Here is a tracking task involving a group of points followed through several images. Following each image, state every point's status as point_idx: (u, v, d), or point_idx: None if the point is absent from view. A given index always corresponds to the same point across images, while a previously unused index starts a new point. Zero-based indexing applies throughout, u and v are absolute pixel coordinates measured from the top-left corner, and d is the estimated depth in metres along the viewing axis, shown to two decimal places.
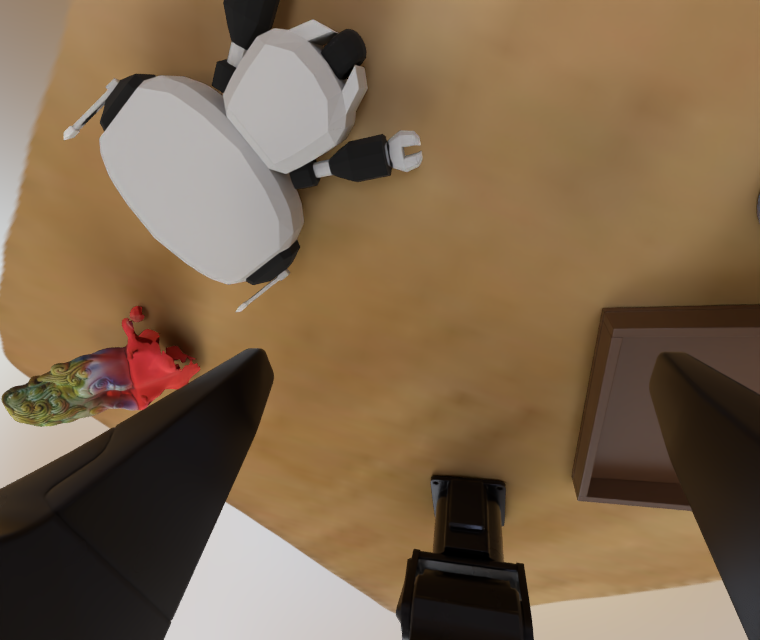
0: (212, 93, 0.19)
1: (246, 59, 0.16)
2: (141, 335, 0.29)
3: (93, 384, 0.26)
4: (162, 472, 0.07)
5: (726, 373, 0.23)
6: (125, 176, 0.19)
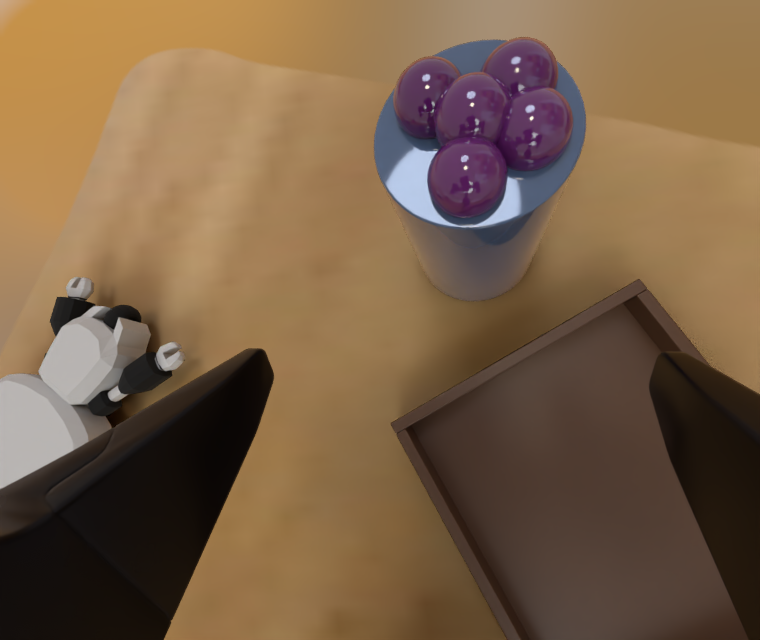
0: None
1: None
2: None
3: None
4: (162, 472, 0.07)
5: (561, 431, 0.20)
6: None
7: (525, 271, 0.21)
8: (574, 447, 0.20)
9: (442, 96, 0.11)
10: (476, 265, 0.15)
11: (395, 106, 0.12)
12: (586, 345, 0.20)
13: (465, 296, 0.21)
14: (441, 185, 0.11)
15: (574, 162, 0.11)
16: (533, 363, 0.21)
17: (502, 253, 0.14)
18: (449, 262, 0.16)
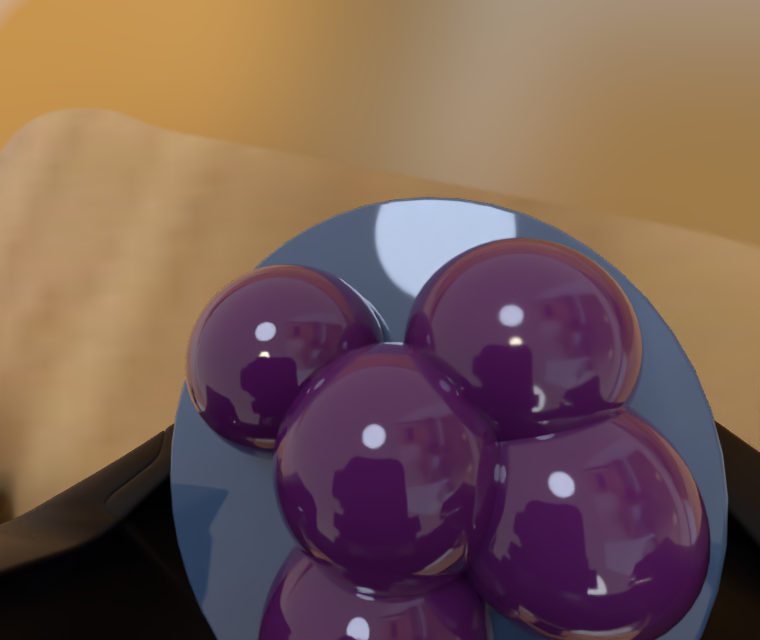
0: None
1: None
2: None
3: None
4: None
5: None
6: None
7: None
8: None
9: (281, 434, 0.04)
10: None
11: None
12: None
13: None
14: None
15: (704, 624, 0.04)
16: None
17: None
18: None
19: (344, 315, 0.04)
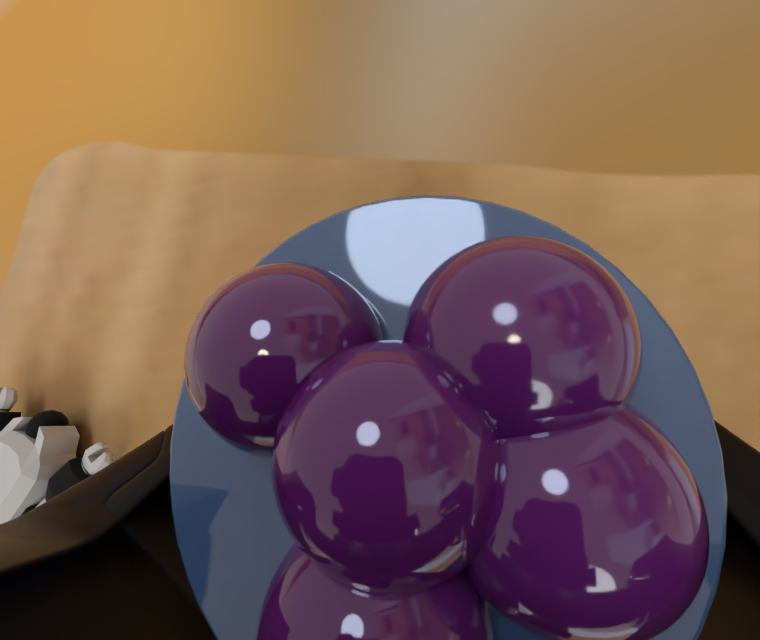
0: None
1: None
2: None
3: None
4: None
5: None
6: None
7: None
8: None
9: (280, 431, 0.04)
10: None
11: None
12: None
13: None
14: None
15: (703, 621, 0.04)
16: None
17: None
18: None
19: (343, 313, 0.04)
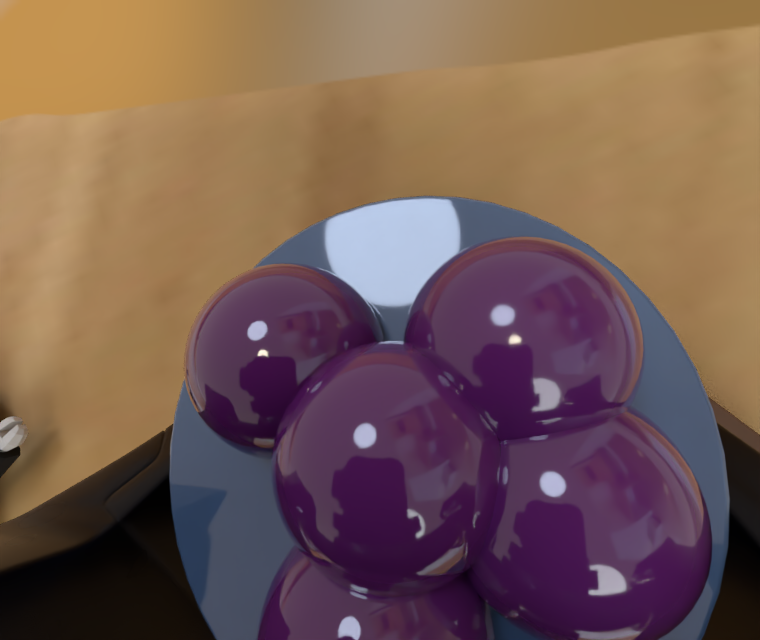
0: None
1: None
2: None
3: None
4: None
5: None
6: None
7: None
8: None
9: (280, 434, 0.03)
10: None
11: None
12: None
13: None
14: None
15: (706, 624, 0.04)
16: None
17: None
18: None
19: (343, 314, 0.04)
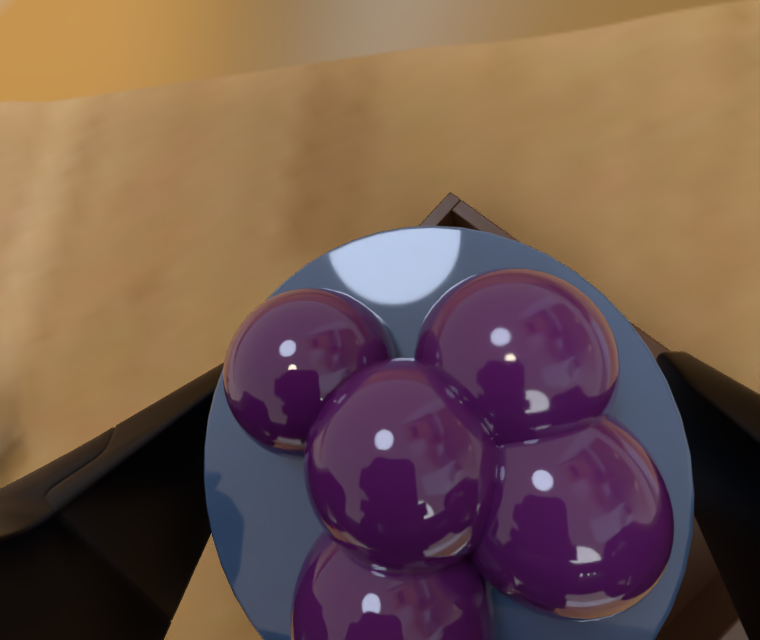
0: None
1: None
2: None
3: None
4: (162, 472, 0.07)
5: None
6: None
7: None
8: None
9: (313, 438, 0.04)
10: None
11: None
12: None
13: None
14: None
15: (673, 600, 0.04)
16: None
17: None
18: None
19: (363, 334, 0.05)
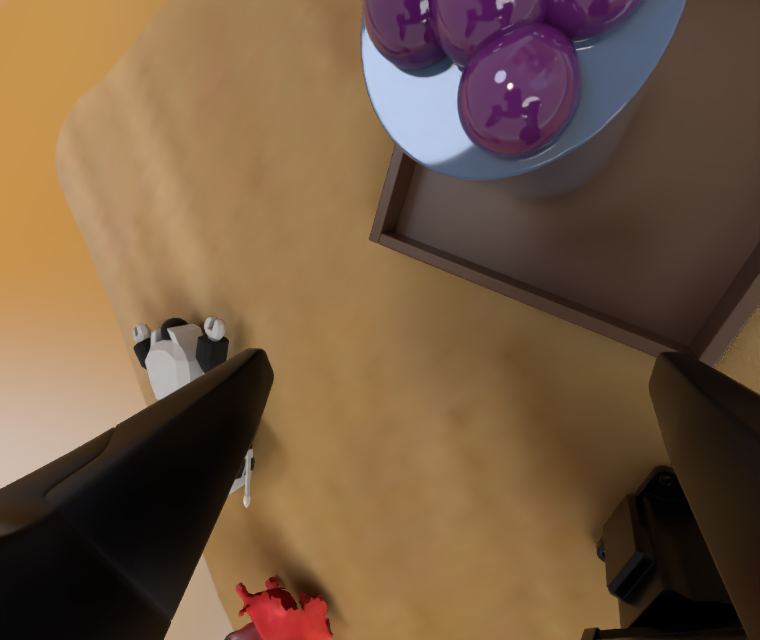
0: None
1: None
2: None
3: None
4: (162, 472, 0.07)
5: None
6: None
7: None
8: None
9: None
10: (566, 176, 0.11)
11: (375, 44, 0.08)
12: None
13: (556, 195, 0.17)
14: (486, 132, 0.08)
15: None
16: None
17: (599, 149, 0.10)
18: (527, 188, 0.12)
19: None
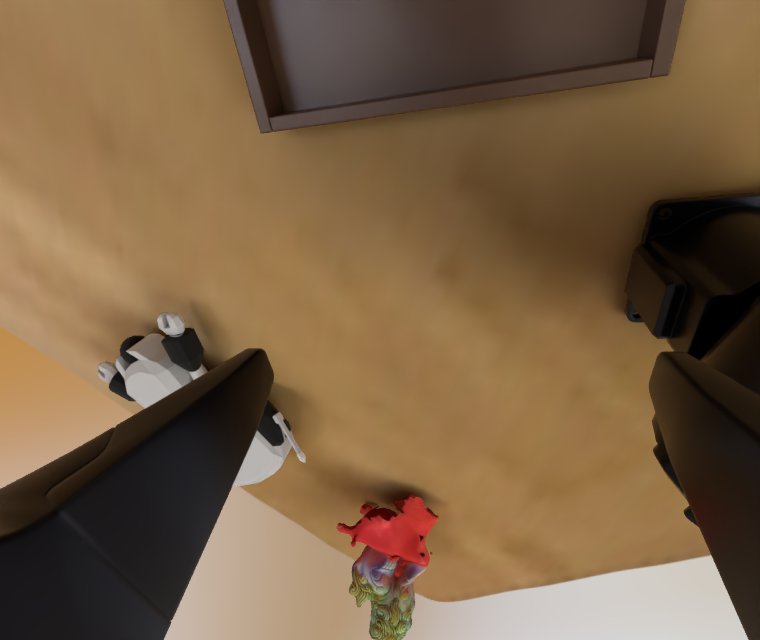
0: None
1: None
2: None
3: (373, 579, 0.31)
4: (162, 472, 0.07)
5: None
6: None
7: None
8: None
9: None
10: None
11: None
12: None
13: None
14: None
15: None
16: None
17: None
18: None
19: None
